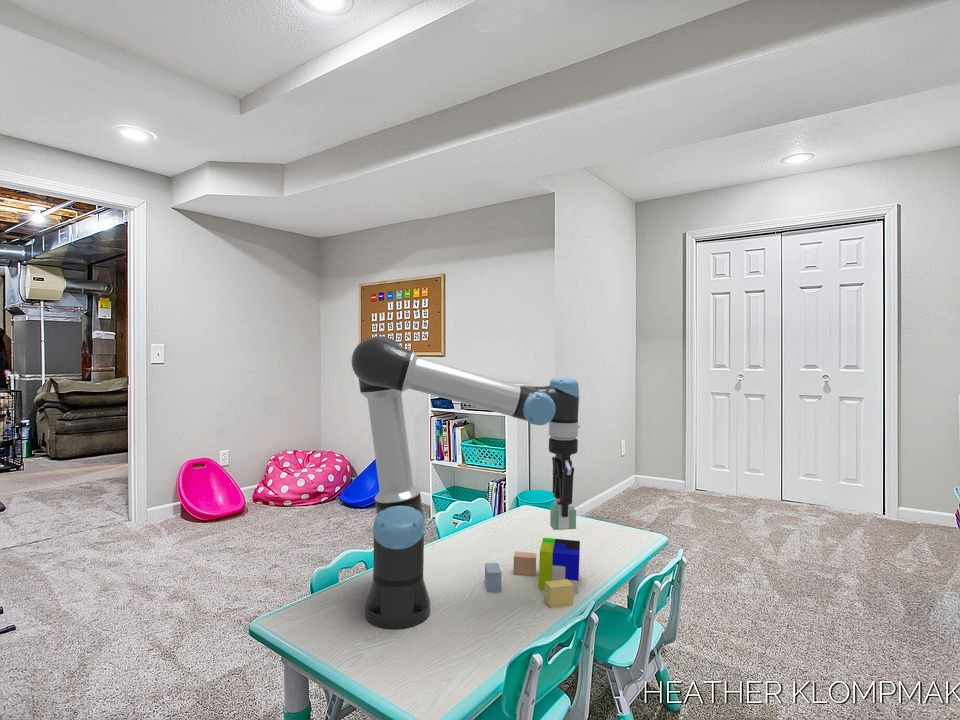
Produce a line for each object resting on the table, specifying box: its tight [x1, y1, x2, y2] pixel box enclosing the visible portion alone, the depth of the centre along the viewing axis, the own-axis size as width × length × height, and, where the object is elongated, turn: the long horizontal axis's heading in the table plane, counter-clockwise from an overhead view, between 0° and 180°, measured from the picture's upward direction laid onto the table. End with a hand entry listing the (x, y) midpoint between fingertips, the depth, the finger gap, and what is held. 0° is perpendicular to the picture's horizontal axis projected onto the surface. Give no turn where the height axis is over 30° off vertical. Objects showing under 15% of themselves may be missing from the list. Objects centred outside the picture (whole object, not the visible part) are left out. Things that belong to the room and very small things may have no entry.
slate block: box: [484, 562, 502, 593], centre depth 144 cm, size 6×4×5 cm, turn 6°
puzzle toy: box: [538, 537, 581, 594], centre depth 147 cm, size 10×10×10 cm
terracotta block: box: [512, 551, 537, 577], centre depth 154 cm, size 6×4×5 cm, turn 81°
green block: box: [549, 505, 577, 531], centre depth 147 cm, size 6×4×5 cm, turn 96°
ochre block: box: [544, 579, 574, 608], centre depth 136 cm, size 6×4×5 cm, turn 106°
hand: (561, 525), depth 147 cm, fingers closed on green block, 3 cm apart
